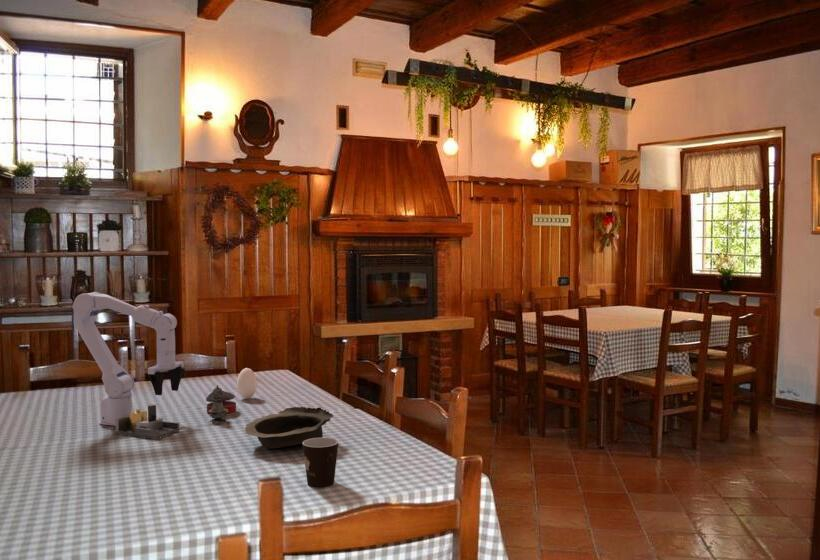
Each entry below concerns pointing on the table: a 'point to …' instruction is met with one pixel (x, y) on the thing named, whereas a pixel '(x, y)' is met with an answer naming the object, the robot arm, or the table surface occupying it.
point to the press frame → (145, 429)
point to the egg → (246, 383)
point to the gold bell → (137, 417)
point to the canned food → (223, 402)
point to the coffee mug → (320, 461)
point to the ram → (151, 420)
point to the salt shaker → (217, 407)
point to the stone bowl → (289, 426)
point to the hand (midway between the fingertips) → (166, 392)
